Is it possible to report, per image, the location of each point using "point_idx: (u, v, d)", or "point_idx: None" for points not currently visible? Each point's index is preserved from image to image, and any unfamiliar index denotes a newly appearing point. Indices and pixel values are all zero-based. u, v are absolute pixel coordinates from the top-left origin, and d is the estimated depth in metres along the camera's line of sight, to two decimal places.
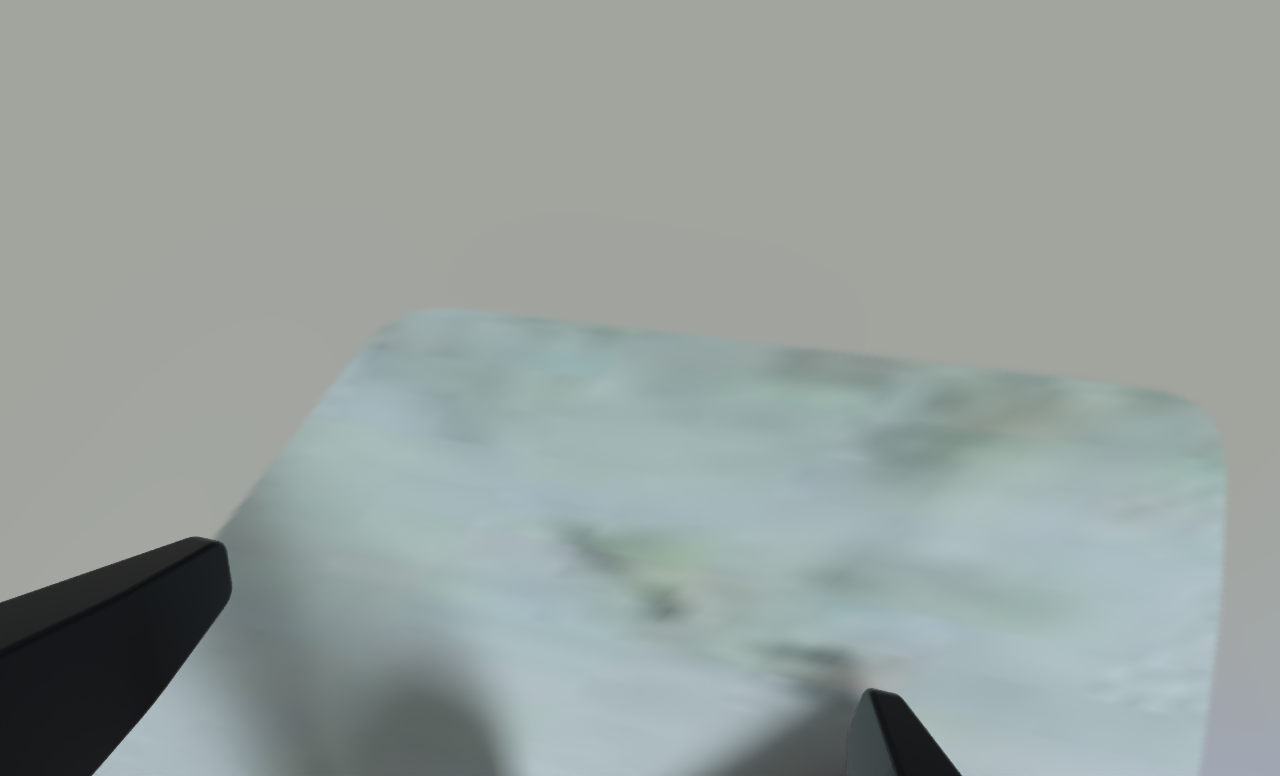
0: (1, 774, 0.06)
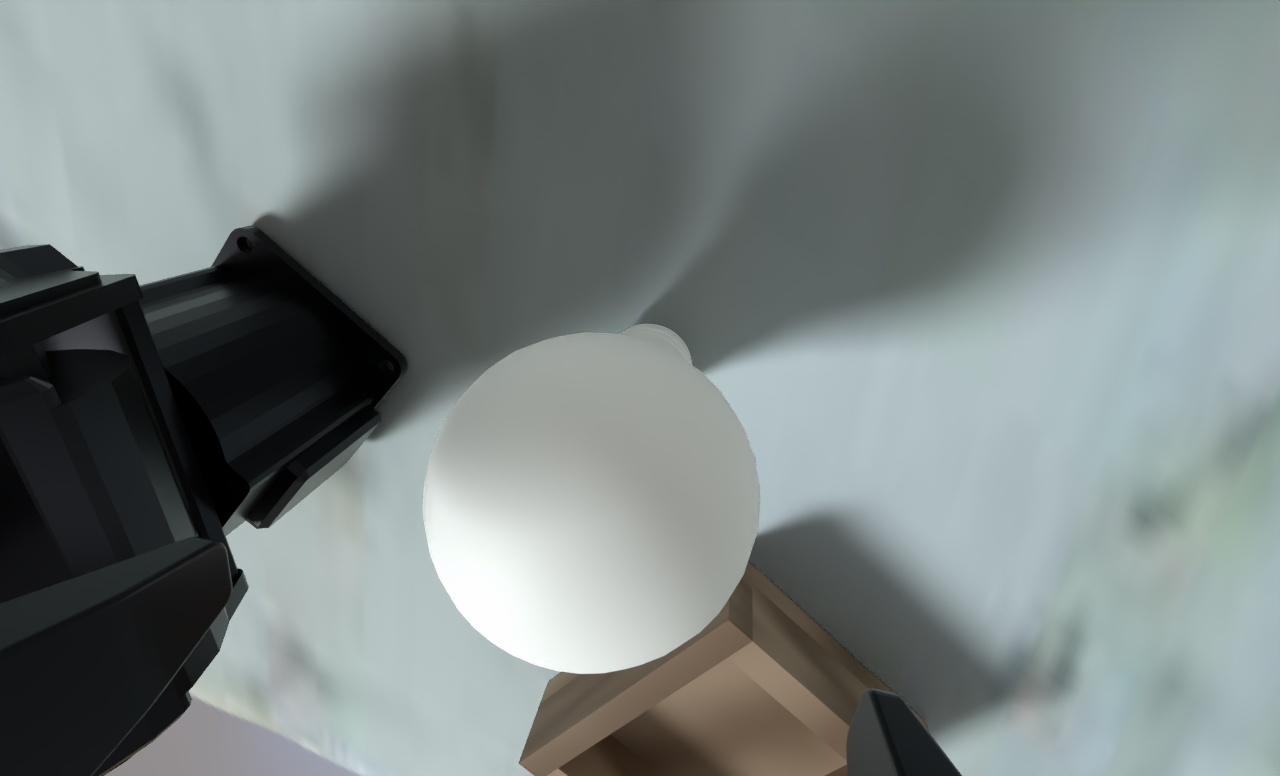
0: (1, 773, 0.06)
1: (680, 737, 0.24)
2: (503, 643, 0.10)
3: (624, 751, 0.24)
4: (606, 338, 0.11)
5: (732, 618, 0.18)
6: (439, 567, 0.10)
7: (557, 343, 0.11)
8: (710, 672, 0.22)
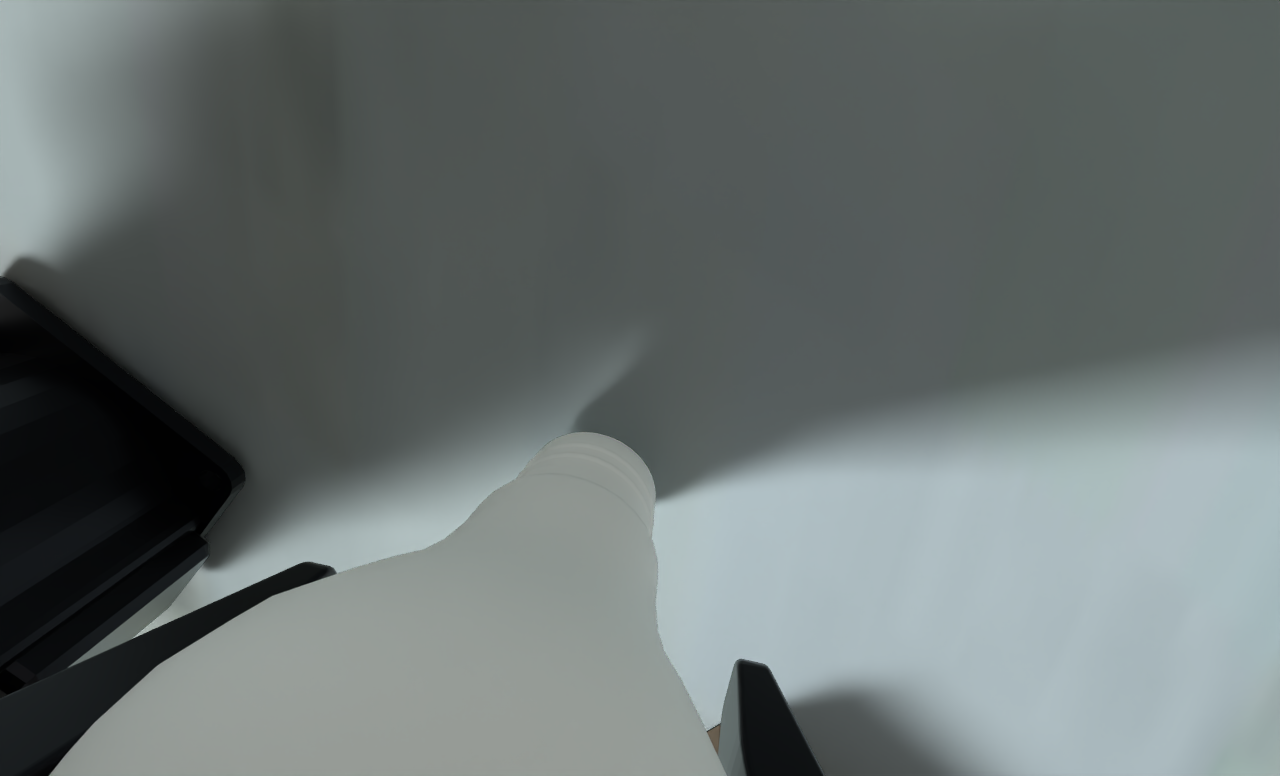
0: None
1: None
2: None
3: None
4: (393, 638, 0.04)
5: None
6: None
7: (267, 657, 0.04)
8: None
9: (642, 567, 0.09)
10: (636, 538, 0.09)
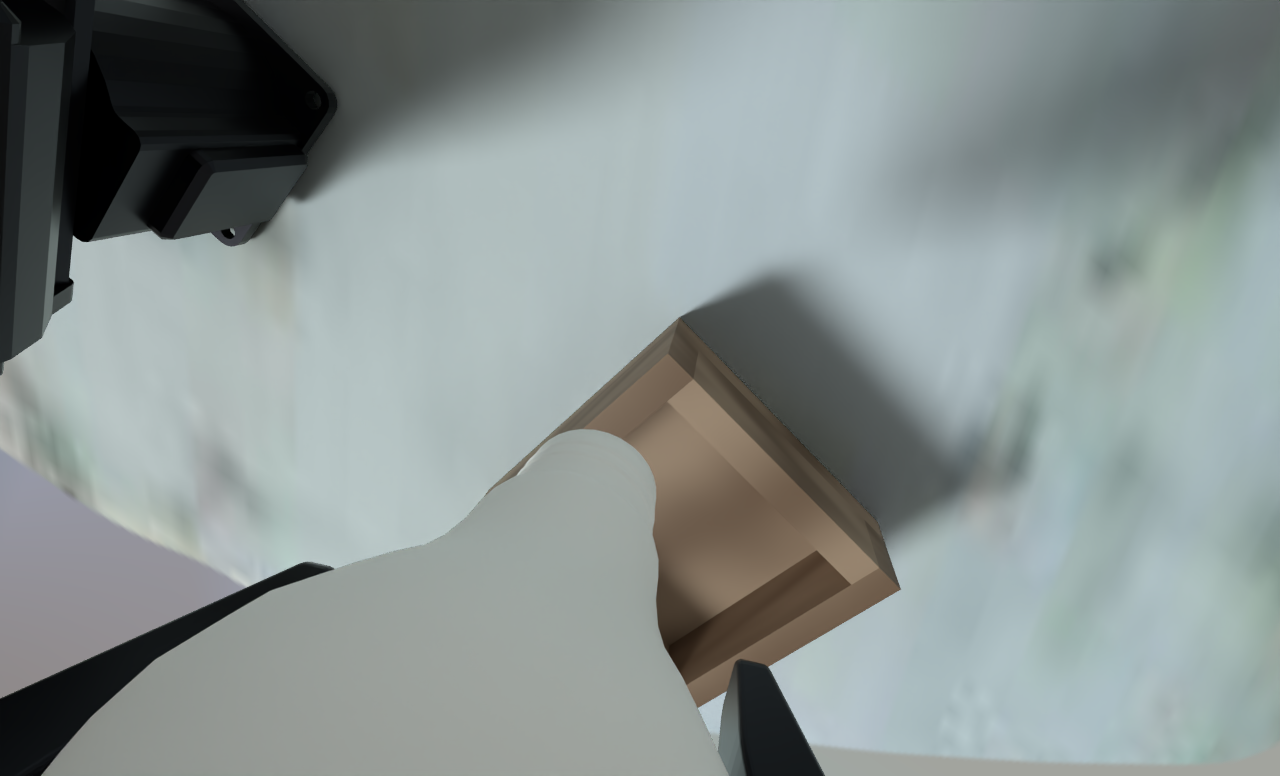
0: None
1: None
2: None
3: None
4: (391, 632, 0.04)
5: (672, 355, 0.17)
6: None
7: (265, 651, 0.04)
8: (654, 459, 0.21)
9: (642, 564, 0.09)
10: (636, 535, 0.09)
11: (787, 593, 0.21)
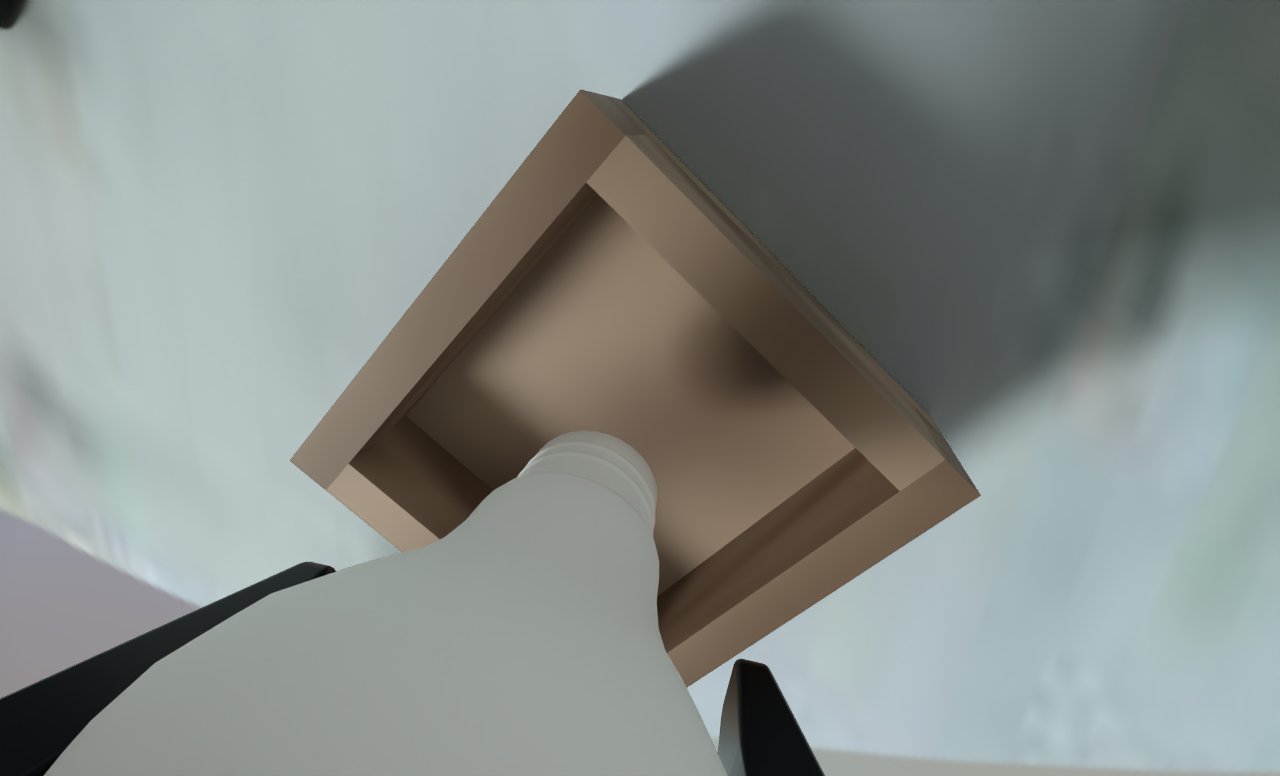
0: None
1: None
2: None
3: (479, 485, 0.16)
4: (391, 635, 0.04)
5: (590, 97, 0.10)
6: None
7: (265, 655, 0.04)
8: (594, 325, 0.14)
9: (643, 566, 0.09)
10: (637, 537, 0.09)
11: (799, 520, 0.14)
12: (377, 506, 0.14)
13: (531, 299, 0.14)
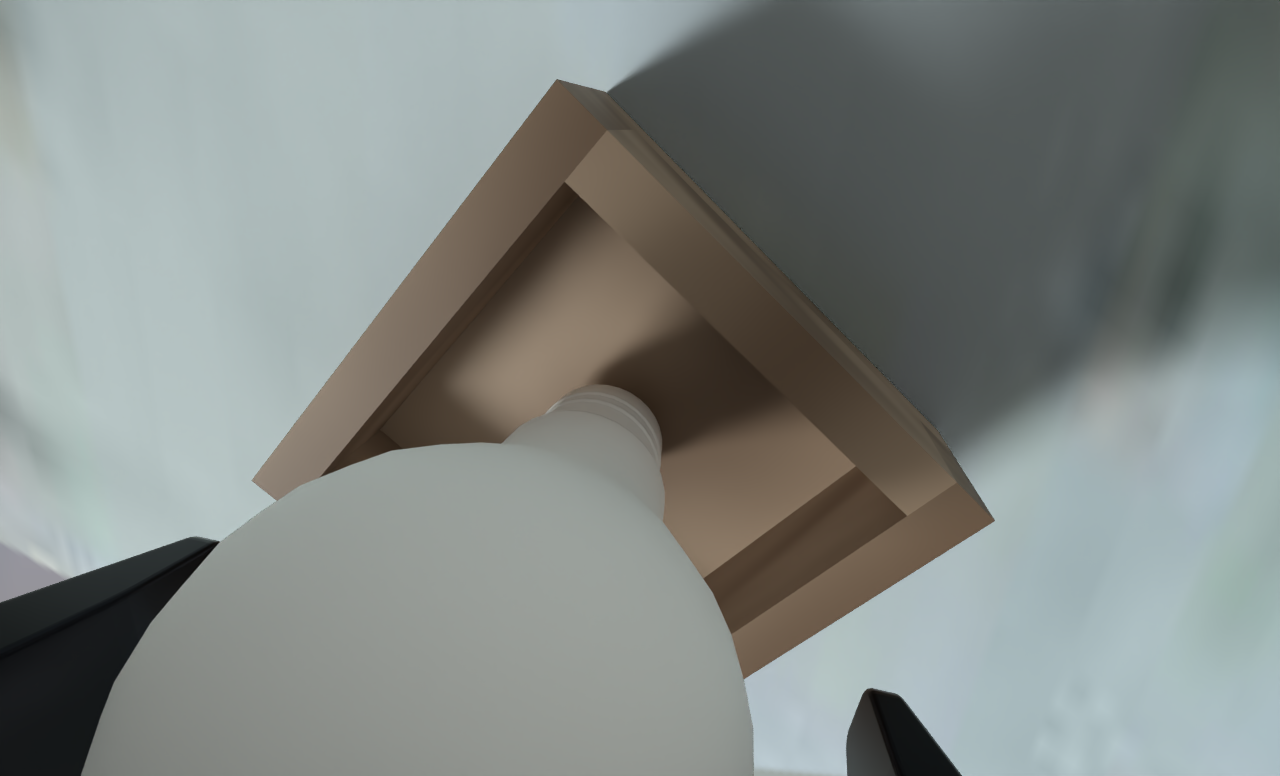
0: (1, 774, 0.06)
1: None
2: None
3: None
4: (458, 471, 0.06)
5: (567, 88, 0.09)
6: None
7: (360, 483, 0.06)
8: (579, 335, 0.13)
9: (651, 486, 0.10)
10: (645, 464, 0.10)
11: (797, 543, 0.13)
12: None
13: (511, 306, 0.13)
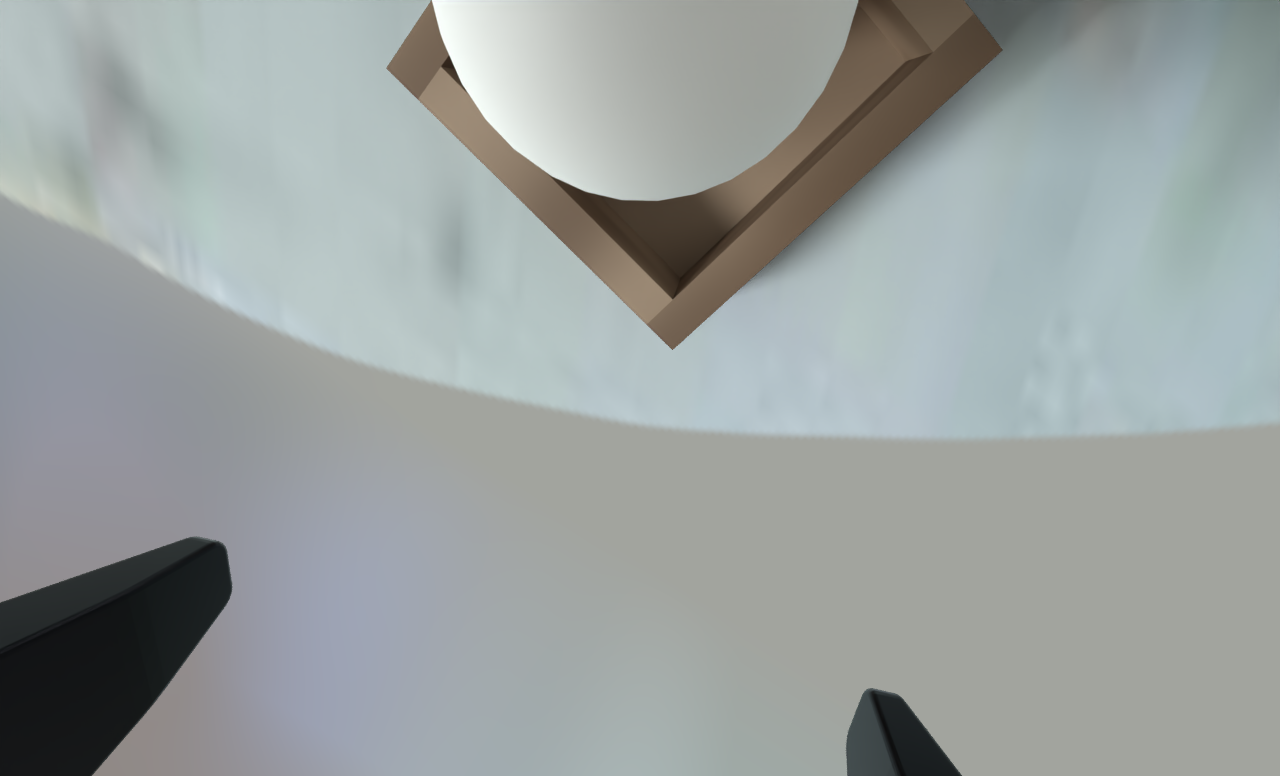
0: (1, 774, 0.06)
1: None
2: (537, 52, 0.07)
3: None
4: None
5: None
6: None
7: None
8: None
9: None
10: None
11: (837, 133, 0.16)
12: (464, 113, 0.16)
13: None
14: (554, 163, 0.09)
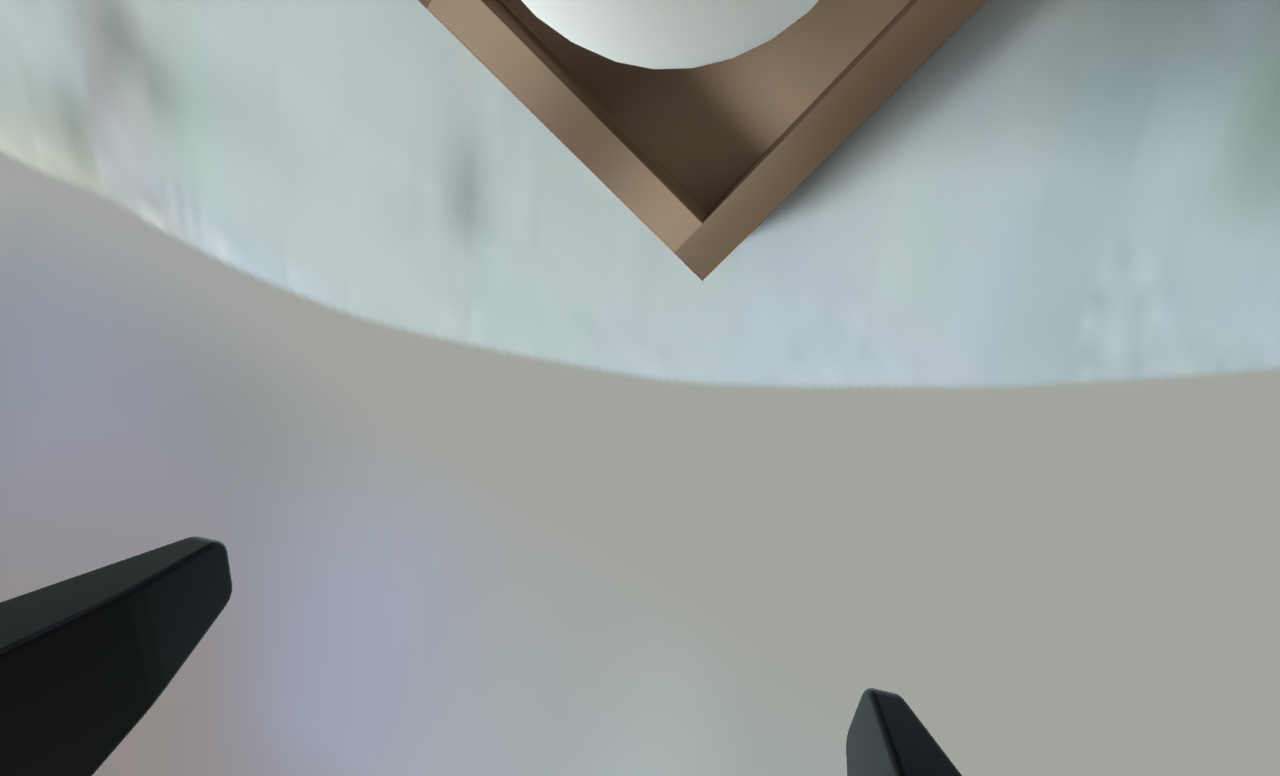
0: (1, 774, 0.06)
1: None
2: None
3: (562, 64, 0.17)
4: None
5: None
6: None
7: None
8: None
9: None
10: None
11: (880, 34, 0.15)
12: (476, 22, 0.15)
13: None
14: (574, 8, 0.08)
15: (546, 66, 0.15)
